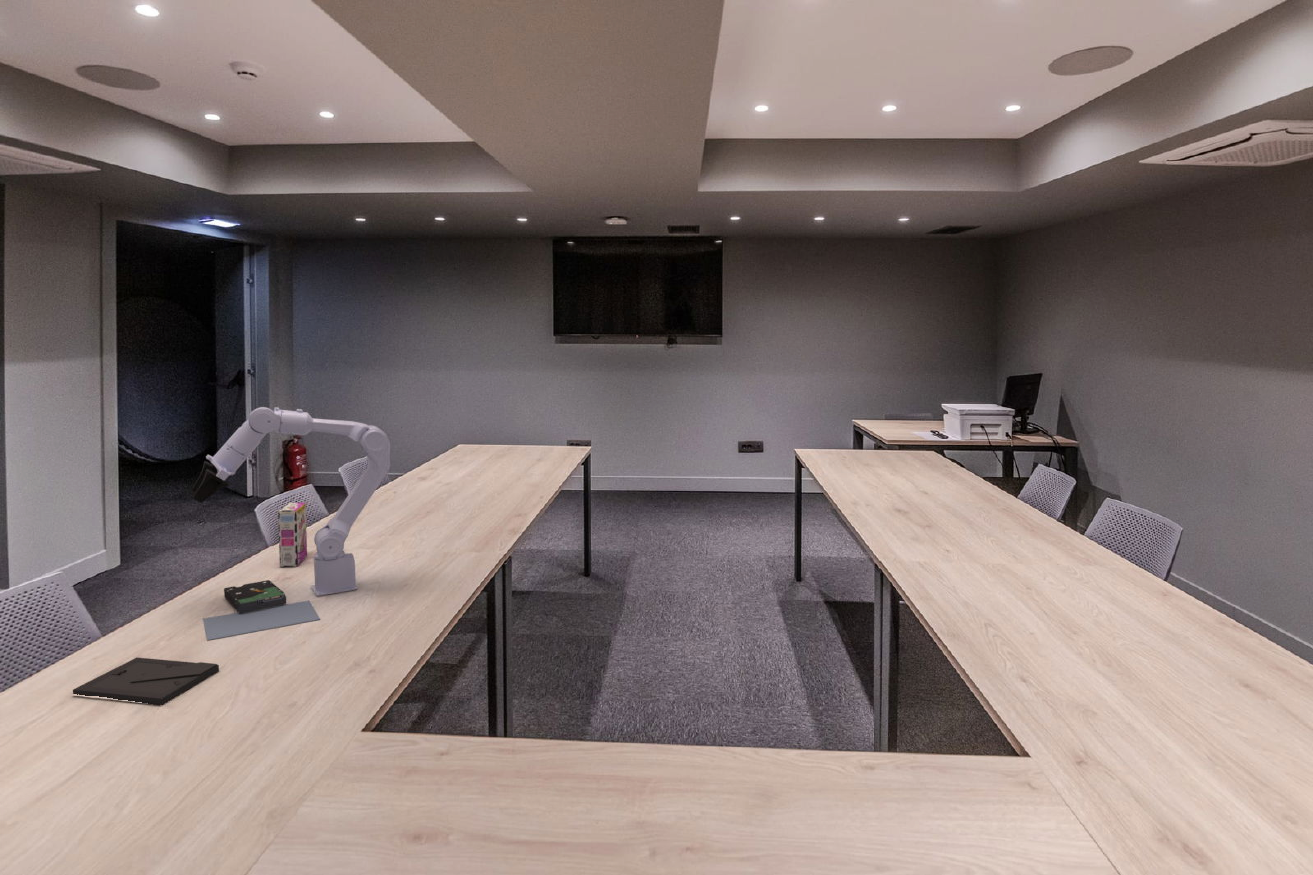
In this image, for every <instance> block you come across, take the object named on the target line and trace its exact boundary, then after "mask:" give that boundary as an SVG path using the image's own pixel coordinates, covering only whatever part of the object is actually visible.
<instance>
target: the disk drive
mask: <svg viewBox="0 0 1313 875" xmlns="http://www.w3.org/2000/svg"><path fill="white" fill-rule="evenodd" d="M223 592H224V598H225V600H226V601H227V602H228V603H229V604H230V605H231V606H232V608H234V610H235V611H236V612H237V613H238V612H239V613H245V612H251V611H256V610H261V609H265V608H270V607H275V606H280V605H285V604H287V596H286V594H285V592H284V591H283V590H281V589H280V588H279V587H278V586H277V585H276V584H274V583H273V582H272V581H271V580H269V579H267V580H261V581H258V582H257V581H255V582H250V583H245V584H242V585H241V586H237V587H236V586H228V587H224V588H223Z"/></svg>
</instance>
